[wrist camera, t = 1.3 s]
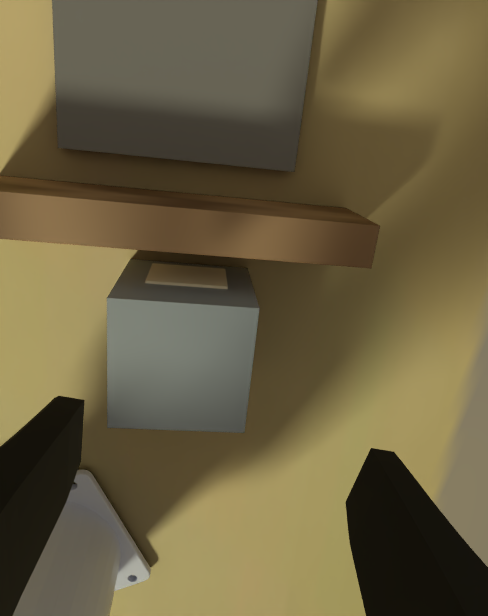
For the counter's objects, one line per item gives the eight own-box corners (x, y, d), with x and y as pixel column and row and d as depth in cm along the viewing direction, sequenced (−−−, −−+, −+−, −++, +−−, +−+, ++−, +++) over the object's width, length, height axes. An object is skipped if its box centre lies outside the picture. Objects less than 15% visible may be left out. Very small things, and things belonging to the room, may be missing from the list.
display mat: (62, 147, 17) (58, 147, 17) (51, -154, 14) (45, -165, 14) (291, 170, 18) (294, 172, 18) (328, -106, 15) (333, -116, 15)
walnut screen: (1, 214, 18) (-52, 234, 14) (-3, 175, 18) (-58, 186, 14) (340, 243, 20) (371, 268, 16) (346, 208, 19) (379, 226, 15)
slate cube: (129, 363, 21) (107, 427, 16) (130, 256, 19) (106, 295, 15) (236, 368, 22) (244, 432, 17) (247, 265, 20) (259, 305, 15)
